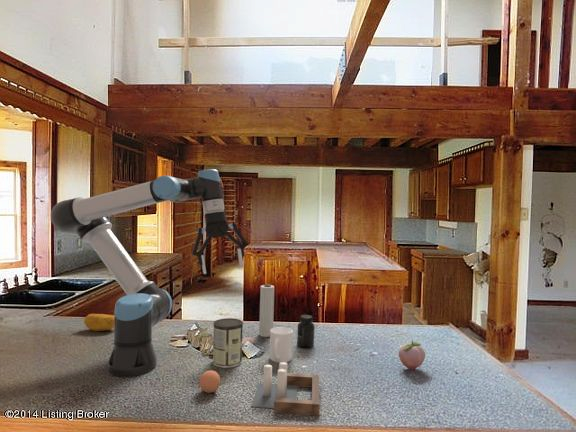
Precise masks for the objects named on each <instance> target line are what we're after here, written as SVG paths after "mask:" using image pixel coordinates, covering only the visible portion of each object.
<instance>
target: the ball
mask: <svg viewBox="0 0 576 432" xmlns="http://www.w3.org/2000/svg"><path fill="white" fill-rule="evenodd" d="M220 385H221V378H220V374H219V373H218V372H217V371H215V370H206V371H205V372H204V373H202V374H201V376H200V377H199V387H200V389H201V390H202V391H203V392H205V393H207V394H211V393H213V392H215V391H217V390H218V389H219V387H220Z"/></svg>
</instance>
